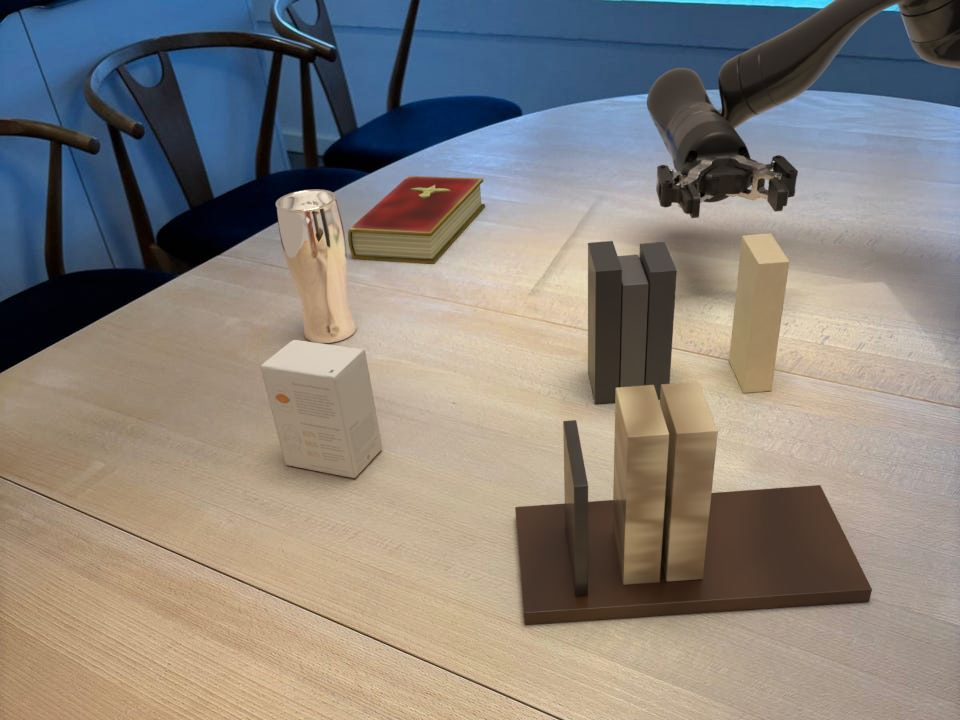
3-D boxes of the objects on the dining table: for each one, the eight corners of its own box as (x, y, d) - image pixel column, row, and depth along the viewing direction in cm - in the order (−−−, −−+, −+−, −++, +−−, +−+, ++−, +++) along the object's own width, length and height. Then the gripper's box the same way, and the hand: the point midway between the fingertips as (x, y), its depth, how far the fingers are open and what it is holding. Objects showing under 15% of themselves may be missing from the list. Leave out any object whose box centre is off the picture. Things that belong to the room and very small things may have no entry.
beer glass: (371, 325, 115) (351, 193, 105) (333, 350, 111) (308, 214, 101) (327, 314, 119) (303, 185, 108) (288, 338, 114) (259, 205, 104)
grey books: (658, 366, 103) (665, 236, 94) (668, 398, 98) (677, 264, 89) (587, 371, 103) (587, 242, 94) (594, 404, 98) (595, 271, 89)
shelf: (818, 496, 84) (848, 340, 74) (869, 601, 73) (911, 436, 64) (515, 518, 85) (506, 366, 75) (524, 625, 74) (515, 465, 65)
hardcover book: (351, 258, 131) (345, 226, 128) (409, 203, 146) (405, 173, 143) (434, 263, 128) (430, 231, 125) (485, 206, 142) (483, 176, 139)
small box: (384, 450, 95) (367, 348, 87) (355, 480, 91) (335, 376, 84) (314, 436, 97) (292, 337, 90) (283, 466, 94) (258, 364, 87)
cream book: (755, 358, 103) (771, 232, 94) (771, 391, 97) (789, 261, 89) (728, 360, 103) (741, 235, 94) (743, 393, 98) (758, 263, 89)
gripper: (647, 125, 109) (670, 172, 98) (775, 114, 109) (814, 160, 97) (644, 195, 115) (666, 247, 103) (766, 184, 114) (803, 236, 102)
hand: (738, 205), depth 100 cm, fingers open, 8 cm apart
